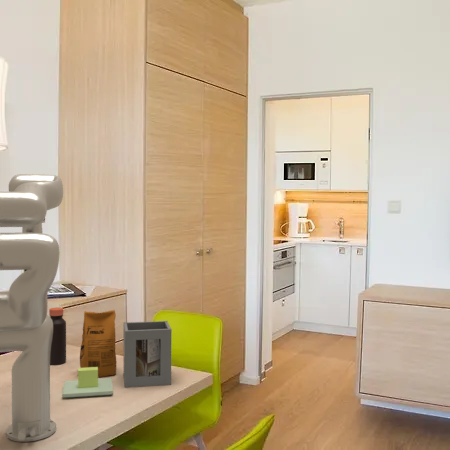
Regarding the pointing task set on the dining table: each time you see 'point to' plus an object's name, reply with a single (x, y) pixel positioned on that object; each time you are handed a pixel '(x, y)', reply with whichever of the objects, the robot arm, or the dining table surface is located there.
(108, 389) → the lid
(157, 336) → the crate
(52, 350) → the bottle
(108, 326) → the coffee package
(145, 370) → the coffee box
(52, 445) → the dining table surface
